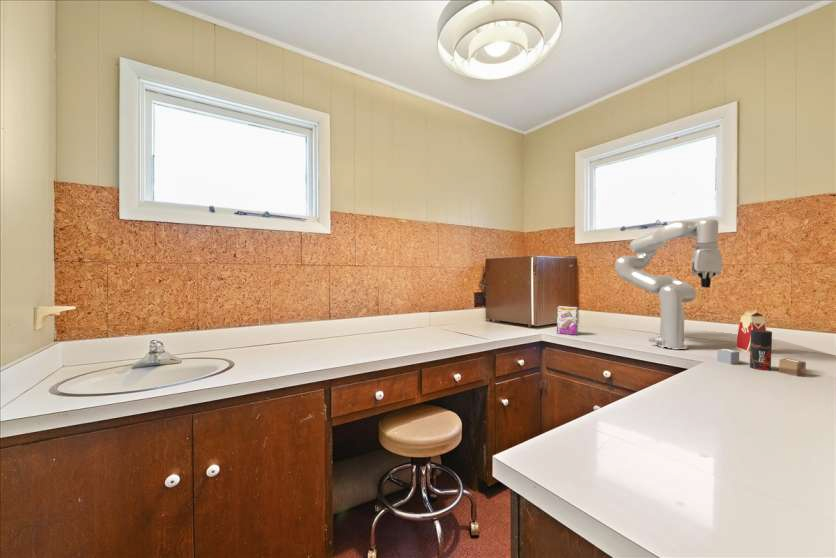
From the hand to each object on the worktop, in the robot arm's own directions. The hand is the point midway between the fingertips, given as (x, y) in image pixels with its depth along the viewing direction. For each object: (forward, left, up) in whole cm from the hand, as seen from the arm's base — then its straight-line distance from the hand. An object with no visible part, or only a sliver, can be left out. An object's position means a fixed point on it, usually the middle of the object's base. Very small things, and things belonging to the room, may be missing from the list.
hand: (705, 287), depth 154 cm
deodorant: (+10, -19, -31) cm, 38 cm away
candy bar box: (-53, +35, -31) cm, 71 cm away
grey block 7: (+3, -12, -31) cm, 34 cm away
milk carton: (+25, +12, -31) cm, 42 cm away
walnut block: (+17, -24, -31) cm, 43 cm away
